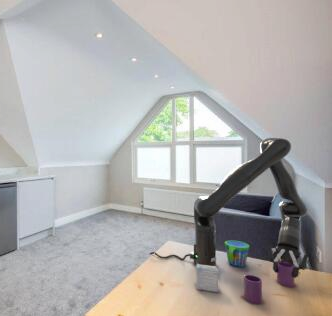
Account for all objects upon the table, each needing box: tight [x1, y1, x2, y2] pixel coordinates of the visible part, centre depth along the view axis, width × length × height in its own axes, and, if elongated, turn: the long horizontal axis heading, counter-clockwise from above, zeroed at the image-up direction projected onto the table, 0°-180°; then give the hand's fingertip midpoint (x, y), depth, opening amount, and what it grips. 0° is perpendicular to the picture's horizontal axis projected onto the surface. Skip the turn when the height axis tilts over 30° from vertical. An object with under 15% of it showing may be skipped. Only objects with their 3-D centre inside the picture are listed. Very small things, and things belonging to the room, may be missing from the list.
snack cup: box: [224, 239, 250, 268], centre depth 122 cm, size 16×10×10 cm
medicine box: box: [195, 264, 219, 293], centre depth 100 cm, size 8×4×9 cm, turn 71°
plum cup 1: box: [243, 274, 263, 305], centre depth 92 cm, size 6×6×8 cm
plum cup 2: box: [276, 261, 295, 288], centre depth 103 cm, size 6×6×8 cm
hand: (285, 274), depth 102 cm, fingers closed on plum cup 2, 5 cm apart
